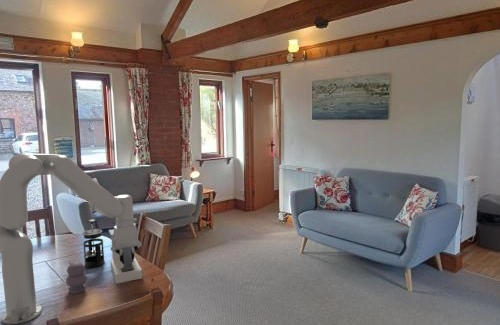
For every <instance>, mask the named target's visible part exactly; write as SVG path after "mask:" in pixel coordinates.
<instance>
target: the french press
mask: <svg viewBox="0 0 500 325" xmlns="http://www.w3.org/2000/svg"><path fill="white" fill-rule="evenodd" d="M86 222H87V223H90V224H91V229H87V230H85V231H82V235H83V238H84V239H86V240H84V241H83V243H82V244H83V245H82V246H83V257H84V264H83V265H84V268H85V269H89V270H91V269H98V268H101V267H103V266H105V264H106V262H105V253H104V239H102V238H100V237H102V233H103V230H102V229H99V228H94V229H93V227H94V226H93V223H94V222H97V219H95V218H91V219H88V220H86ZM95 242H98V243H95ZM86 248H88V250H87V251H86Z"/></svg>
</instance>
